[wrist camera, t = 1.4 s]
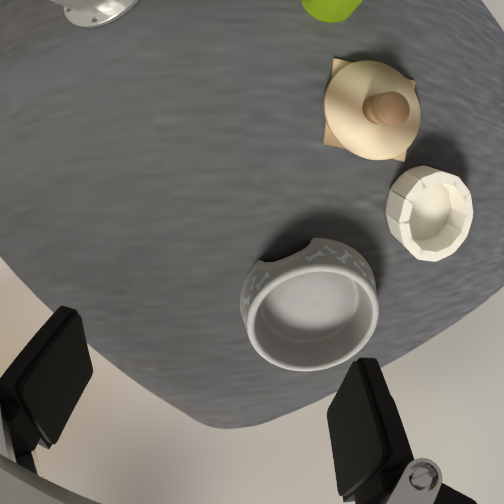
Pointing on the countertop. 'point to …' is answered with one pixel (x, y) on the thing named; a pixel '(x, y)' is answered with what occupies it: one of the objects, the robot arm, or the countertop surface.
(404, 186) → the bowl
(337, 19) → the soap dispenser
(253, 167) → the countertop surface
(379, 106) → the lid
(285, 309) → the dog bowl
